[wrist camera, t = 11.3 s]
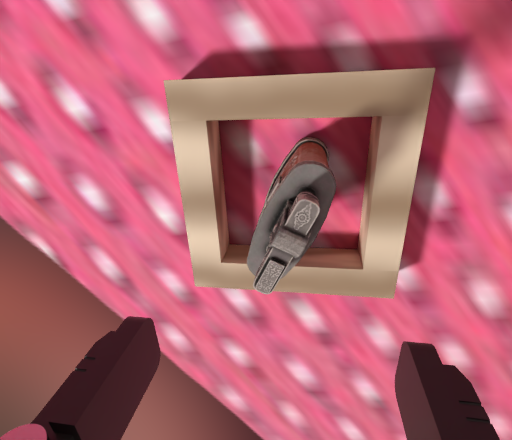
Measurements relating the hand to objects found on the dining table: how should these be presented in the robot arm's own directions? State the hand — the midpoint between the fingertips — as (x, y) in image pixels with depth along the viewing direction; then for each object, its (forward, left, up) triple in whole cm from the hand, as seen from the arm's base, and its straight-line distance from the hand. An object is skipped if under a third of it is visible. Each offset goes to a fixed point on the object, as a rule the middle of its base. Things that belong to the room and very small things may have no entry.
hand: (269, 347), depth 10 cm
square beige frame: (0, 0, -16) cm, 16 cm away
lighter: (0, 0, -16) cm, 16 cm away
